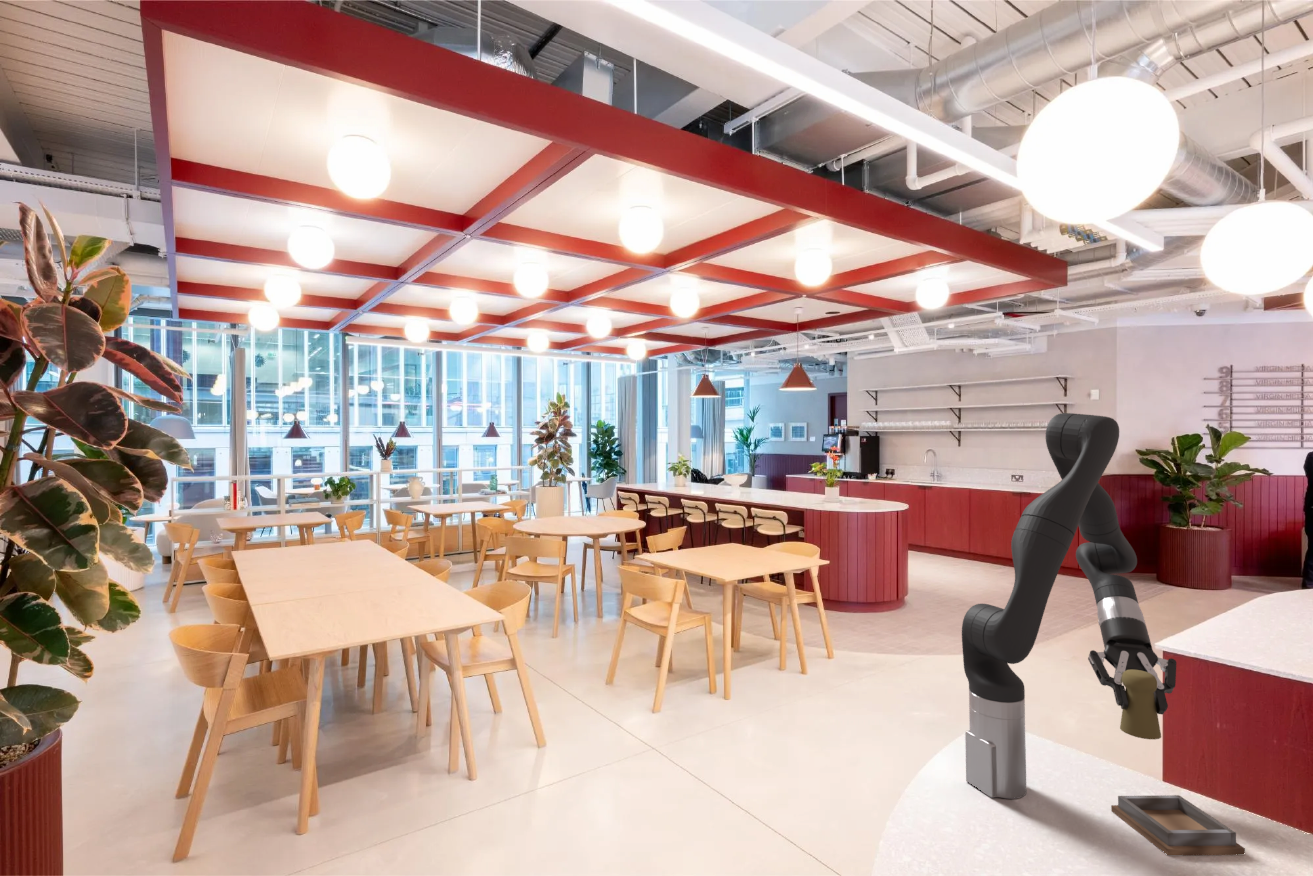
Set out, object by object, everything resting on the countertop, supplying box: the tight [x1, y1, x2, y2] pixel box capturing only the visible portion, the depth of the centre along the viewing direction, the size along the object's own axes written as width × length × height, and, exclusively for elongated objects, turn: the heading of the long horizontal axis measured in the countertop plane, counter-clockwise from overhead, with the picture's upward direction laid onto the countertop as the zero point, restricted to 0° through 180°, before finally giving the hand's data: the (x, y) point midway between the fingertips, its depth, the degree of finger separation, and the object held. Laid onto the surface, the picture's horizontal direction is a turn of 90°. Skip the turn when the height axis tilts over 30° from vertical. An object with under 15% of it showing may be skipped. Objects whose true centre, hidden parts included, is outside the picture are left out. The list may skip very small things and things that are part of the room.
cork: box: [1119, 669, 1162, 740], centre depth 115 cm, size 6×6×11 cm
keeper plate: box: [1110, 794, 1246, 856], centre depth 103 cm, size 12×12×3 cm
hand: (1143, 709), depth 114 cm, fingers closed on cork, 4 cm apart
